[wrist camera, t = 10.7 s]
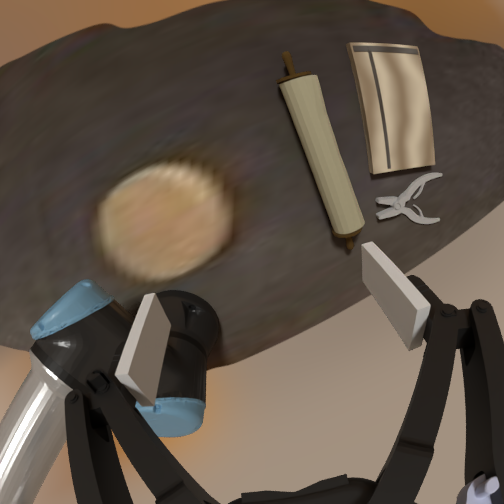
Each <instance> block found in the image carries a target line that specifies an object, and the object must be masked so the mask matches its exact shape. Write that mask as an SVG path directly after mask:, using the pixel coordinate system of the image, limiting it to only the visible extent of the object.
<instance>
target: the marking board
mask: <svg viewBox="0 0 504 504" xmlns="http://www.w3.org/2000/svg"><path fill="white" fill-rule="evenodd" d="M346 47H347V51H348V54H349V58H350V62H351V66H352V71H353V75H354V79H355V84H356V89H357V94H358V99H359V104H360V109H361V115H362V121H363V127H364V133H365V140H366V147H367V155H368V164H369V172H370V173H372V174H378V173H384V172H390V171H396V170H402V169H409V168H415V167H422V166H429V165H435V156H434V142H433V131H432V122H431V113H430V106H429V99H428V93H427V87H426V82H425V77H424V72H423V67H422V63H421V59H420V54H419V50H418V47H416V46H407V45H397V44H382V43H348V44H346Z"/></svg>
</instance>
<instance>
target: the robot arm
mask: <svg viewBox="0 0 504 504" xmlns="http://www.w3.org/2000/svg"><path fill="white" fill-rule="evenodd" d="M361 245H362V277H363V282H364V284H365V285H366V287H367V288H368V290H369V291H370V292H371V294H372V295H373V297H374V298H375V300H376V301H377V303H378V304H379V305H380V307H381V308H382V310H383V311H384V313H385V314H386V316H387V318H388V319H389V321H390V322H391V324H392V325H393V327H394V328H395V330H396V331H397V333H398V334H399V336H400V338H401V339H402V341H403V342H404V344H405V346H406V347H407V349H408V350H409V351H410V350H413V349H415V348H418V347H420V346H421V345H422V341H423V338H424V339H425V341H426V342H427V345H426V349H425V352H424V356H423V361H422V365H421V369H420V372H419V376H418V379H417V382H416V386H415V389H414V392H413V395H412V398H411V401H410V404H409V407H408V410H407V413H406V415H405V418H404V421H403V423H402V426H401V429H400V431H399V434H398V436H397V438H396V441H395V443H394V445H393V448H392V450H391V452H390V455H389V457H388V459H387V461H386V463H385V465H384V466H383V468H382V470H381V472H380V474H379V476H378V478H377V480H376V482H374V481H372V480H368V479H364V478H347V474H344V475H341V476H337V477H333V478H330V479H326V480H322V481H319V482H317V483H315V484H312V485H311V486H308V487H306V488H304V489H301V490H299V491H296V492H280V491H259V492H249V493H241V497H242V498H239V499H236V500H234V501H232V502H230V503H228V504H417V503H415V502H414V500H415V498H416V496H417V494H418V492H419V490H420V487H421V485H422V483H423V480H424V478H425V476H426V473H427V471H428V468H429V465H430V462H431V460H432V457H433V453H434V448H433V447H434V443H435V440H436V436H437V433H438V430H439V427H440V423H441V419H442V416H443V412H444V408H445V404H446V400H447V396H448V391H449V386H450V381H451V376H452V370H453V364H454V358H455V351H456V349H460V354H461V361H462V370H463V377H464V388H465V406H466V453H465V486H464V487H463V488H462V489H461V491H460V492H459V494H458V496H457V503H456V504H504V342H503V338H502V335H501V332H500V328H499V325H498V322H497V319H496V316H495V313H494V310H493V307H492V306H491V304H490V303H489V302H488V301H485V300H482V299H481V300H480V299H478V300H475V301H473V302H472V304H471V307H470V308H469V309H461V310H458V309H457V308H456V307H455V306H453V305H450V304H443V302H442V301H441V300H440V299H439V298H438V297H437V296H436V295H435V294H434V293H433V291H432V290H431V289H429V287H428V286H427V285H426V284H425V283H424V282H423V281H422V280H421V279H420V278H418V277H416V276H414V275H410V276H407V277H406V276H405V275H404V274H403V273H402V272H401V271H400V270H399V269H398V268H397V267H396V266H395V264H394V263H393V262H392V261H391V260H390V259H389V258H388V257H387V256H386V255H385V254H384V253H383V252H382V251H381V250H380V249H379V248H378V247H377V246H376V245H375V244H374V243H373V242H369V243H365V244H361ZM218 328H219V322H218V318H217V315H216V313H215V311H214V310H213V308H212V307H211V306H210V305H209V304H208V303H207V302H206V301H205V300H203V299H202V298H200V297H198V296H196V295H194V294H191V293H188V292H184V291H177V290H170V291H163V292H160V293H157V294H155V293H152V294H147V295H144V298H143V300H142V303H141V305H140V308H139V310H138V313H137V315H136V318H134V317H133V316H132V315H131V314H130V313H129V312H127V311H126V310H125V309H124V308H123V307H122V306H121V305H120V304H119V303H118V302H117V301H116V300H115V298H114V296H112V295H109V294H108V293H107V292H106V291H105V290H104V289H102V288H101V287H100V286H99V285H98V284H97V283H96V282H94V281H93V280H89V279H85V280H82V281H80V282H78V283H77V284H76V285H75V286H73V287H72V288H71V289H70V290H69V291H68V292H67V293H65V294H64V295H63V296H62V297H61V298H60V299H59V300H58V301H57V302H56V303H55V304H54V305H53V306H52V307H51V308H50V309H49V310H48V311H47V312H46V313H45V314H44V315H43V316H42V317H41V318H40V319H39V320H38V321H37V322H36V323H35V324H34V326H33V327H32V328H31V330H30V333H31V335H32V338H33V339H34V340H35V339H36V341H35V343H34V344H33V346H32V347H31V349H30V351H29V352H30V358H31V364H32V367H31V370H30V372H29V374H28V375H27V377H26V378H25V380H24V382H23V383H22V385H21V387H20V388H19V390H18V392H17V393H16V395H15V397H14V399H13V401H12V402H11V404H10V406H9V408H8V409H7V412H6V413H5V416H4V417H3V419H2V421H1V423H0V504H33V502H34V500H35V498H36V496H37V494H38V492H39V489H40V487H41V486H42V484H43V482H44V480H45V478H46V476H47V474H48V472H49V471H50V469H51V467H52V465H53V463H54V461H55V460H56V458H57V456H58V454H59V452H60V450H61V449H62V447H63V445H64V443H65V442H66V440H67V446H68V454H69V462H70V468H71V474H72V479H73V485H74V490H75V494H76V498H77V503H78V504H133V501H132V499H131V496H130V493H129V490H128V487H127V485H126V481H125V479H124V475H123V472H122V469H121V465H120V462H119V458H118V455H117V451H116V447H115V444H114V440H113V435H112V431H113V433H114V435H115V437H116V438H117V440H118V442H119V444H120V445H121V447H122V449H123V450H124V452H125V454H126V455H127V457H128V458H129V460H130V462H131V463H132V465H133V466H134V468H135V469H136V471H137V472H138V474H139V475H140V477H141V478H142V480H143V481H144V482H145V484H146V485H147V487H148V488H149V489H150V491H151V492H152V493H153V495H154V496H155V498H156V501H155V503H156V504H220V503H219V502H217V501H216V500H215V499H214V498H212V497H211V496H210V495H209V494H208V493H207V492H206V491H205V490H204V489H203V488H202V487H201V486H200V485H199V484H198V483H197V482H196V481H195V480H194V479H193V478H192V477H191V475H190V474H189V473H188V472H187V471H186V470H185V469H184V468H183V467H182V465H181V464H180V463H179V462H178V461H177V460H176V458H175V457H174V456H173V455H172V454H171V453H170V451H169V450H168V449H167V448H166V446H165V445H164V444H163V443H162V441H161V440H160V439H159V438H158V437H181V436H185V435H189V434H191V433H193V432H195V431H197V430H198V429H199V428H200V427H201V425H202V423H203V416H204V409H205V407H206V403H205V402H206V369H207V357H208V355H209V353H210V352H211V350H212V348H213V346H214V344H215V342H216V340H217V337H218ZM111 429H112V431H111Z"/></svg>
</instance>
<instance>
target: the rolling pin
mask: <svg viewBox="0 0 504 504" xmlns="http://www.w3.org/2000/svg"><path fill="white" fill-rule="evenodd" d="M282 58H283V61H284V63H285V65H286V67H287V70H288V72H289V76H286V77H283V78H280V79H278V80H276V82H277V84H280V85H279V86H280V88H281V91H282V93H283V96H284V99H285V101H286V104H287V106H288V109H289V112H290V114H291V117H292V120H293V123H294V125H295V128H296V130H297V133H298V135H299V138H300V141H301V143H302V146H303V149H304V151H305V154H306V157H307V160H308V162H309V165H310V168H311V170H312V173H313V175H314V178H315V181H316V183H317V186H318V189H319V192H320V194H321V197H322V200H323V203H324V205H325V208H326V211H327V213H328V216H329V219H330V222H331V224H332V227H333V228H332V233H333V235H334V236H336V237H338V238H346V247H347V249H348V250H352V249H353V247H354V243H353V240H352V236H355V235H356V234H358V233H360V232H361V230H362V226H363V225H364V223H365V222H364V219H363V216H362V213H361V210H360V208H359V205H358V202H357V199H356V197H355V194H354V191H353V188H352V185H351V183H350V180H349V177H348V174H347V171H346V169H345V166H344V163H343V161H342V158H341V155H340V153H339V149H338V146H337V143H336V140H335V137H334V133H333V130H332V127H331V124H330V121H329V119H328V116H327V112H326V108H325V104H324V100H323V96H322V92H321V88H320V84H319V81H318V77H317V75H311V71H306V72H301V73H297V74H296V72H295V69H294V65H293V61H292V56H291V54H290V53H289V52H287V51H286V52H283V53H282Z"/></svg>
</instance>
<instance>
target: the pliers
mask: <svg viewBox="0 0 504 504" xmlns="http://www.w3.org/2000/svg"><path fill="white" fill-rule="evenodd" d="M441 176H442V173H429V174H425V175H423V176H421V177H419V178H418V179H416V180H415V181H414V182H412V183H411V184H410V186H409V187H408V188H407V190H406V191H405V192H403V193H402V194H401V195H400V196H399V197H393V196H391V197H379V198H376V202H377V203H380V204H387V205H391V207H389V208H387V209H385V210H383V211H381V212H379V213H377V214H376V217H377V218H378V219H384V218H388V217H392V216H396V215H398V214H400V213H403V214H405V215H407V216H408V217H409V218H410V219H411V220H412V221H414V222H417V223H420V224H432V223H435V222H438V221H440V218H425V217H423V215H422V212H421V210H420V208H418V207H417V206H416V205H414V204H413V206H415V207H416V208H417V209H418V211H419V214H420V216H418V215H417V214H415V213H414V212H413V211H412V210H411V209H410V208H406V207H404V206H405V202H406V201H408V200H410V197H411V196H412V194H413V193H414V192H415V191H416V189H417V188H418V187H419V186H420V185H421V186H420V189H419V191H418V193H417V194H416V195H415V196H414V197H413V199H415V198H417V197H418V195H419V194H420V193H421V191H422V189H423V186H424V184H425V182H427V181H429V180H431V179H434V178H437V177H441Z"/></svg>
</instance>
